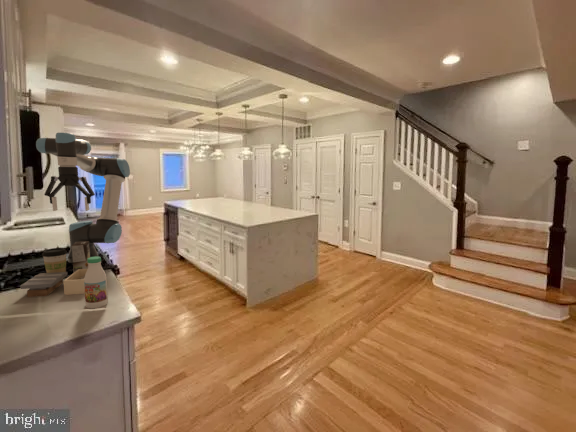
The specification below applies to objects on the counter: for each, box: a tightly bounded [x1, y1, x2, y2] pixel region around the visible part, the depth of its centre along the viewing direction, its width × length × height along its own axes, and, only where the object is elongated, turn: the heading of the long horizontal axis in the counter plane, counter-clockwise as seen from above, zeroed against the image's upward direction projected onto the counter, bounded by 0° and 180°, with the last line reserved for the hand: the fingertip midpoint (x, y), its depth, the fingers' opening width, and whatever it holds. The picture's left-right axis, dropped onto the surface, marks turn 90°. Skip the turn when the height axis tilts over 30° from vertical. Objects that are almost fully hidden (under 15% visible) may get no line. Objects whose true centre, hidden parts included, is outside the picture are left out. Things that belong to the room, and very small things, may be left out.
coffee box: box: [72, 241, 90, 273], centre depth 158 cm, size 9×6×16 cm
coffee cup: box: [41, 247, 68, 279], centre depth 147 cm, size 10×10×15 cm
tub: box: [62, 269, 88, 296], centre depth 138 cm, size 16×8×7 cm, turn 15°
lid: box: [19, 271, 69, 290], centre depth 134 cm, size 16×11×3 cm
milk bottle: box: [84, 256, 109, 310], centre depth 121 cm, size 8×8×20 cm
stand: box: [26, 278, 64, 298], centre depth 134 cm, size 15×7×4 cm, turn 15°
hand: (71, 210), depth 147 cm, fingers open, 13 cm apart
